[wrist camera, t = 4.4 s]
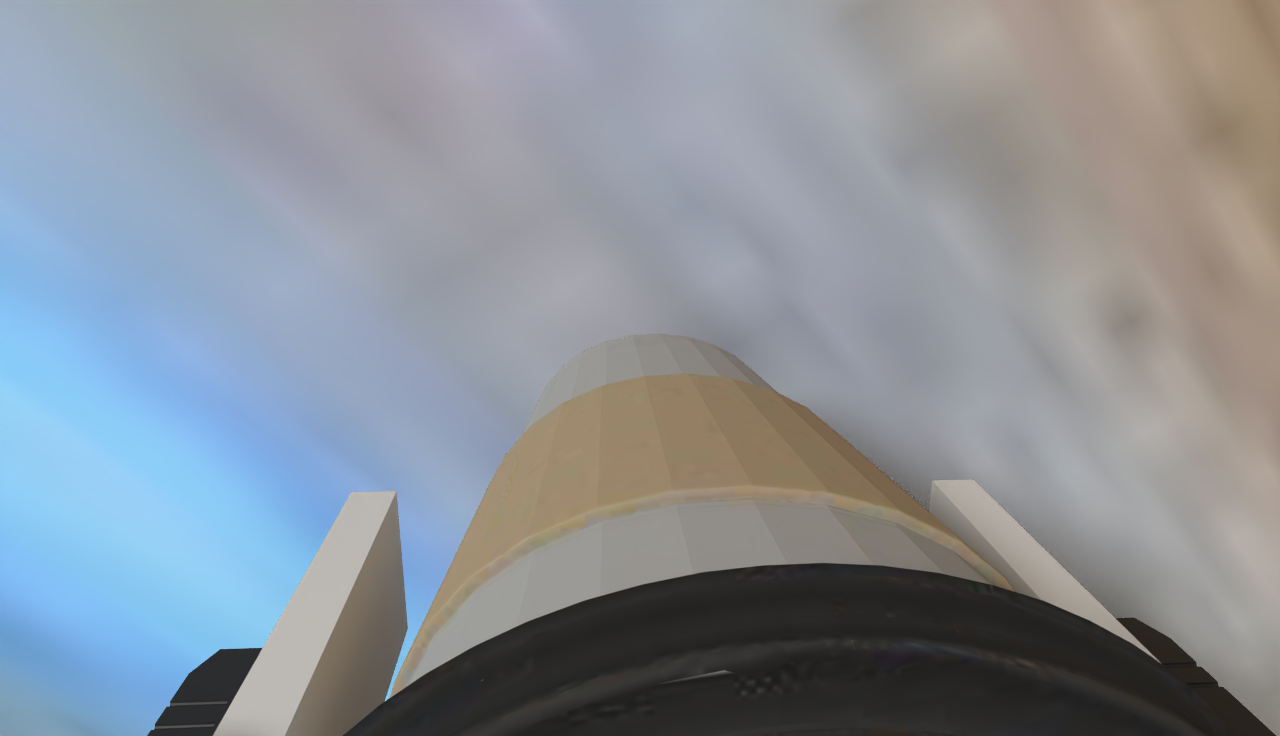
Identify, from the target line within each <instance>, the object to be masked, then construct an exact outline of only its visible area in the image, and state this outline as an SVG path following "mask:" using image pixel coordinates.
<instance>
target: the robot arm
mask: <svg viewBox="0 0 1280 736" xmlns="http://www.w3.org/2000/svg"><path fill="white" fill-rule="evenodd" d="M928 511H929V512H930V513H931V514H932V515H933V516H935V517H936V518H937V519H938V520H939V521H940V522H942V523H943V524H944V525H945V526H946V527H947V528H949V529H950V530H951V531H952V532H953V533H954V534H956V535H957V536H958V537H959V538H960V539H961V540H963V541H964V542H965V543H966V544H967V545H968V546H970V547H971V548H972V549H973V550H974V551H975V552H977V553H978V554H979V555H980V556H981V557H982V558H984V559H985V560H986V561H987V562H988V563H989V564H991V565H992V566H993V567H994V568H995V569H996V570H998V571H999V572H1000V573H1001V574H1002V575H1003V576H1004V577H1005V578H1006V579H1007V580H1008V582H1009V583H1010V585H1011V586H1012V588H1013V589H1014V591H1015V592H1017V593H1020V594H1024V595H1027V596H1030V597H1033V598H1037V599H1040V600H1043V601H1045V602H1048V603H1050V604H1052V605H1055V606H1057V607H1059V608H1062V609H1064V610H1066V611H1069V612H1071V613H1073V614H1076V615H1078V616H1080V617H1083V618H1085V619H1087V620H1090V621H1092V622H1094V623H1095V624H1097V625H1099V626H1101V627H1103V628H1105V629H1106V630H1108V631H1110V632H1112V633H1114V634H1116V635H1118V636H1119V637H1121V638H1123V639H1125V640H1127V641H1129V642H1130V643H1132V644H1134V645H1135V646H1137V647H1138V648H1140V649H1141V650H1143V651H1144V652H1145V653H1147V654H1148V655H1150V656H1151V657H1153V658H1154V659H1155V660H1157V661H1158V662H1160V663H1161V664H1163V665H1164V666H1166V667H1167V668H1168V669H1170V670H1171V671H1172V672H1174V673H1175V674H1176V675H1177V676H1178V677H1179V678H1180V679H1182V680H1183V681H1184V682H1185V683H1186V684H1187V685H1188V686H1190V687H1191V688H1192V689H1193V690H1194V691H1195V692H1196V693H1198V694H1199V695H1200V696H1201V697H1202V698H1203V699H1204V700H1205V701H1206V702H1207V703H1208V704H1209V705H1210V706H1211V707H1212V709H1213V710H1214V711H1215V712H1216V713H1217V714H1218V715H1219V716H1220V718H1221V719H1222V720H1223V721H1224V722H1225V723H1226V724H1227V725H1228V726H1229V728H1230V729H1231V730H1232V731H1233V732H1234V734H1235V735H1236V736H1276V735H1275V734H1274V733H1273V732H1272V731H1270V730H1269V729H1268V728H1267V727H1266V726H1265V725H1264V724H1263V723H1262V722H1261V721H1260V720H1259V719H1257V718H1256V717H1255V716H1254V715H1253V714H1252V713H1251V712H1250V711H1249V710H1248V709H1247V708H1245V707H1244V706H1243V705H1242V704H1241V703H1240V702H1239V701H1238V700H1237V699H1236V698H1235V697H1234V696H1232V695H1231V694H1230V693H1229V692H1228V691H1227V690H1226V689H1225V688H1224V687H1219V686H1218V682H1217V681H1216V680H1215V679H1214V678H1213V677H1212V676H1211V675H1210V674H1209V673H1207V672H1206V671H1205V670H1204V669H1203V668H1202V667H1197V665H1196V662H1195V661H1194V660H1193V659H1192V658H1191V657H1190V656H1189V655H1188V654H1187V653H1186V652H1185V651H1184V650H1182V649H1181V648H1180V647H1179V646H1178V645H1177V644H1176V643H1175V642H1174V641H1173V640H1172V639H1170V638H1169V637H1167V636H1165V635H1164V634H1162V633H1160V632H1158V631H1157V630H1155V629H1153V628H1151V627H1150V626H1148V625H1146V624H1144V623H1143V622H1141V621H1139V620H1137V619H1135V618H1114V617H1113V616H1112V615H1111V614H1110V613H1109V612H1108V611H1107V610H1106V609H1105V608H1104V607H1103V606H1102V605H1101V604H1100V603H1099V602H1098V601H1097V600H1096V599H1095V598H1094V597H1093V596H1092V595H1091V594H1090V593H1089V592H1088V591H1087V590H1086V589H1085V588H1084V587H1083V586H1082V585H1081V584H1080V583H1079V582H1078V581H1077V580H1075V579H1074V578H1073V577H1072V576H1071V575H1070V574H1069V573H1068V572H1067V571H1066V570H1065V569H1064V568H1063V567H1062V566H1061V565H1060V564H1059V563H1058V562H1057V561H1056V560H1055V559H1054V558H1053V557H1052V556H1051V555H1050V554H1049V553H1048V552H1047V551H1046V550H1045V549H1044V548H1043V547H1042V546H1041V545H1040V544H1039V543H1038V542H1037V541H1036V540H1035V539H1034V538H1033V537H1031V536H1030V535H1029V534H1028V533H1027V532H1026V531H1025V530H1024V529H1023V528H1022V527H1021V526H1020V525H1019V524H1018V523H1017V522H1016V521H1015V520H1014V519H1013V518H1012V517H1011V516H1010V515H1009V514H1008V513H1007V512H1006V511H1005V510H1004V509H1003V508H1002V507H1001V506H1000V505H999V504H998V503H997V502H996V501H995V500H994V499H993V498H992V497H991V496H990V495H989V494H987V493H986V492H985V491H984V490H983V489H982V488H981V487H980V486H979V485H978V484H977V483H976V482H975V481H974V480H932V486H931V494H930V502H929V510H928ZM407 629H408V626H407V614H406V602H405V590H404V577H403V565H402V553H401V541H400V529H399V516H398V504H397V492H396V491H387V492H351V494H350V496H349V497H348V499H347V501H346V503H345V504H344V506H343V508H342V510H341V511H340V513H339V515H338V517H337V518H336V520H335V522H334V524H333V525H332V527H331V529H330V531H329V532H328V534H327V536H326V538H325V540H324V541H323V543H322V545H321V547H320V548H319V550H318V552H317V554H316V555H315V557H314V559H313V561H312V562H311V564H310V566H309V568H308V569H307V571H306V573H305V575H304V576H303V578H302V580H301V582H300V583H299V585H298V587H297V589H296V590H295V592H294V594H293V596H292V598H291V599H290V601H289V603H288V605H287V606H286V608H285V610H284V612H283V613H282V615H281V617H280V619H279V620H278V622H277V624H276V626H275V627H274V629H273V631H272V633H271V634H270V636H269V638H268V640H267V641H266V643H265V645H264V647H263V648H248V649H220V650H219V651H218V652H216V653H215V654H214V655H212V656H211V657H210V658H209V659H207V660H206V661H205V662H203V663H202V664H201V665H200V666H198V667H197V668H196V669H194V670H193V671H192V672H191V673H189V674H188V676H187V677H186V679H185V680H184V682H183V683H182V685H181V686H180V688H179V689H178V691H177V692H176V694H175V695H174V697H173V698H172V700H171V701H170V707H166V709H165V710H164V712H163V713H162V715H161V716H160V718H159V719H158V721H157V722H156V724H155V729H154V730H151V731H150V733H149V734H148V735H147V736H343V735H344V734H345V733H346V732H348V731H349V730H350V729H351V728H353V727H354V726H355V725H356V724H357V723H359V722H360V721H361V720H362V719H363V718H365V717H366V716H367V715H368V714H369V713H371V712H372V711H373V710H374V709H375V708H377V707H378V706H379V705H381V704H382V703H384V701H385V698H386V695H387V692H388V689H389V685H390V682H391V679H392V676H393V673H394V670H395V667H396V664H397V660H398V657H399V654H400V651H401V648H402V645H403V642H404V638H405V635H406V632H407Z"/></svg>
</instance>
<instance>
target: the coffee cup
mask: <svg viewBox="0 0 1280 736" xmlns="http://www.w3.org/2000/svg"><path fill="white" fill-rule="evenodd" d="M343 736H1236V735H1235V734H1234V732H1233V731H1232V730H1231V729H1230V728H1229V726H1228V725H1227V724H1226V723H1225V722H1224V721H1223V720H1222V719H1221V718H1220V716H1219V715H1218V714H1217V713H1216V712H1215V711H1214V710H1213V709H1212V707H1211V706H1210V705H1209V704H1208V703H1207V702H1206V701H1205V700H1204V699H1203V698H1202V697H1201V696H1200V695H1199V694H1198V693H1196V692H1195V691H1194V690H1193V689H1192V688H1191V687H1190V686H1188V685H1187V684H1186V683H1185V682H1184V681H1183V680H1182V679H1180V678H1179V677H1178V676H1177V675H1176V674H1175V673H1174V672H1172V671H1171V670H1170V669H1168V668H1167V667H1166V666H1164V665H1163V664H1161V663H1160V662H1158V661H1157V660H1155V659H1154V658H1153V657H1151V656H1150V655H1148V654H1147V653H1145V652H1144V651H1143V650H1141V649H1140V648H1138V647H1137V646H1135V645H1134V644H1132V643H1130V642H1129V641H1127V640H1125V639H1123V638H1121V637H1119V636H1118V635H1116V634H1114V633H1112V632H1110V631H1108V630H1106V629H1105V628H1103V627H1101V626H1099V625H1097V624H1095V623H1094V622H1092V621H1090V620H1087V619H1085V618H1083V617H1080V616H1078V615H1076V614H1073V613H1071V612H1069V611H1066V610H1064V609H1062V608H1059V607H1057V606H1055V605H1052V604H1050V603H1048V602H1045V601H1043V600H1040V599H1037V598H1033V597H1030V596H1027V595H1024V594H1020V593H1017V592H1015V591H1014V589H1013V588H1012V586H1011V585H1010V583H1009V582H1008V580H1007V579H1006V578H1005V577H1004V576H1003V575H1002V574H1001V573H1000V572H999V571H998V570H996V569H995V568H994V567H993V566H992V565H991V564H989V563H988V562H987V561H986V560H985V559H984V558H982V557H981V556H980V555H979V554H978V553H977V552H975V551H974V550H973V549H972V548H971V547H970V546H968V545H967V544H966V543H965V542H964V541H963V540H961V539H960V538H959V537H958V536H957V535H956V534H954V533H953V532H952V531H951V530H950V529H949V528H947V527H946V526H945V525H944V524H943V523H942V522H940V521H939V520H938V519H937V518H936V517H935V516H933V515H932V514H931V513H930V512H929V511H928V510H926V509H925V508H924V507H923V506H922V505H921V504H919V503H918V502H917V501H916V500H915V499H914V498H912V497H911V496H910V495H909V494H908V493H907V492H905V491H904V490H903V489H902V488H901V487H900V486H898V485H897V484H896V483H895V482H894V481H893V480H891V479H890V478H889V477H888V476H887V475H886V474H884V473H883V472H882V471H881V470H880V469H879V468H877V467H876V466H875V465H874V464H873V463H872V462H870V461H869V460H868V459H867V458H866V457H865V456H863V455H862V454H861V453H860V452H859V451H858V450H856V449H855V448H854V447H853V446H852V445H851V444H849V443H848V442H847V441H846V440H845V439H843V438H842V437H841V436H840V435H839V434H838V433H836V432H835V431H834V430H833V429H832V428H831V427H829V426H828V425H827V424H826V423H825V422H823V421H822V420H821V419H820V418H819V417H817V416H816V415H815V414H814V413H813V412H811V411H810V410H809V409H808V408H807V407H805V406H803V405H801V404H799V403H797V402H795V401H793V400H791V399H789V398H787V397H785V396H783V395H781V394H779V393H778V392H777V391H775V390H774V389H773V388H772V387H771V386H770V385H769V384H767V383H766V382H765V381H764V380H763V379H762V378H761V377H759V376H758V375H757V374H756V373H755V372H754V371H753V370H751V369H750V368H749V367H748V366H747V365H745V364H744V363H743V362H742V361H741V360H739V359H738V358H737V357H736V356H734V355H732V354H730V353H728V352H726V351H725V350H723V349H721V348H719V347H717V346H715V345H713V344H710V343H707V342H703V341H700V340H696V339H693V338H689V337H684V336H675V335H666V334H649V335H633V336H628V337H624V338H619V339H615V340H611V341H607V342H604V343H602V344H600V345H597V346H595V347H593V348H590V349H588V350H586V351H584V352H582V353H581V354H579V355H578V356H576V357H575V358H574V359H572V360H571V361H569V362H568V363H567V364H565V365H564V366H563V367H562V368H561V369H560V370H559V371H558V372H557V374H556V375H555V376H554V377H553V378H552V379H551V381H550V382H549V383H548V384H547V385H546V387H545V389H544V391H543V393H542V394H541V396H540V398H539V400H538V402H537V404H536V406H535V408H534V410H533V412H532V414H531V416H530V418H529V421H528V423H527V425H526V427H525V429H524V431H523V433H522V436H521V437H520V439H519V440H518V441H517V442H516V443H515V444H514V446H513V447H512V448H511V449H510V450H509V451H508V453H507V454H506V455H505V456H504V458H503V460H502V462H501V464H500V465H499V467H498V469H497V471H496V473H495V475H494V477H493V479H492V481H491V483H490V485H489V486H488V488H487V490H486V492H485V494H484V497H483V499H482V501H481V503H480V505H479V507H478V509H477V511H476V513H475V515H474V517H473V519H472V521H471V524H470V526H469V528H468V530H467V532H466V534H465V536H464V538H463V540H462V542H461V544H460V546H459V549H458V551H457V553H456V555H455V557H454V559H453V561H452V563H451V565H450V567H449V569H448V571H447V573H446V576H445V578H444V580H443V582H442V584H441V586H440V588H439V590H438V592H437V594H436V596H435V598H434V601H433V603H432V605H431V607H430V609H429V611H428V613H427V615H426V617H425V619H424V621H423V623H422V626H421V628H420V630H419V632H418V634H417V636H416V638H415V640H414V642H413V644H412V646H411V648H410V650H409V653H408V655H407V657H406V659H405V661H404V663H403V665H402V667H401V669H400V671H399V673H398V675H397V678H396V680H395V682H394V685H393V689H392V693H391V696H390V698H389V699H388V700H387V701H385V702H384V703H382V704H381V705H379V706H378V707H377V708H375V709H374V710H373V711H372V712H371V713H369V714H368V715H367V716H366V717H365V718H363V719H362V720H361V721H360V722H359V723H357V724H356V725H355V726H354V727H353V728H351V729H350V730H349V731H348V732H346V733H345V734H344V735H343Z"/></svg>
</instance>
